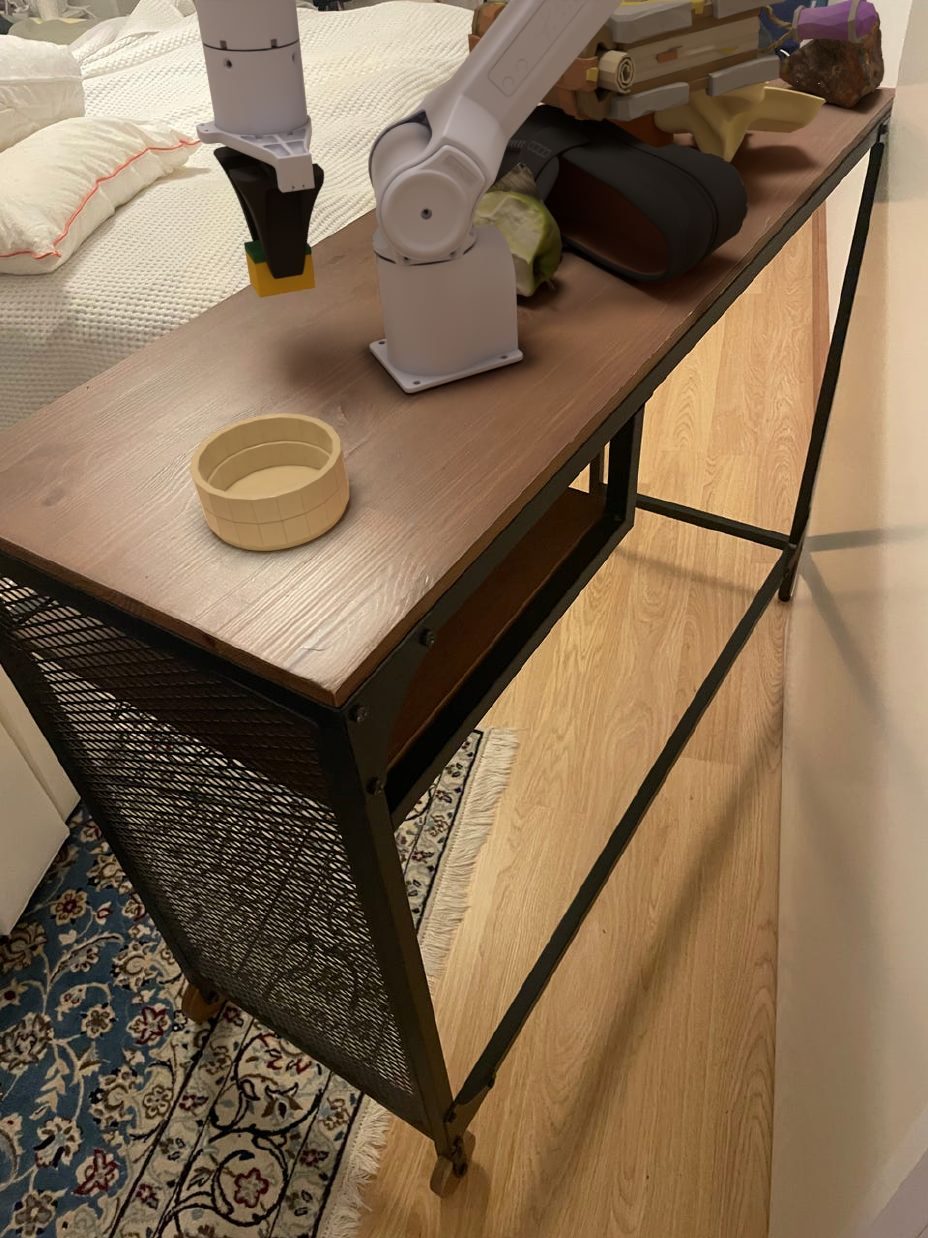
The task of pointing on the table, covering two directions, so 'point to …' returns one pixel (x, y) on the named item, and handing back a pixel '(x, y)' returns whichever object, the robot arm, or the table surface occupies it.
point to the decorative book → (680, 51)
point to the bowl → (271, 481)
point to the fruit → (523, 227)
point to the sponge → (263, 277)
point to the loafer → (628, 194)
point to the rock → (837, 67)
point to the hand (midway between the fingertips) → (281, 265)
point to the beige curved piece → (738, 116)
